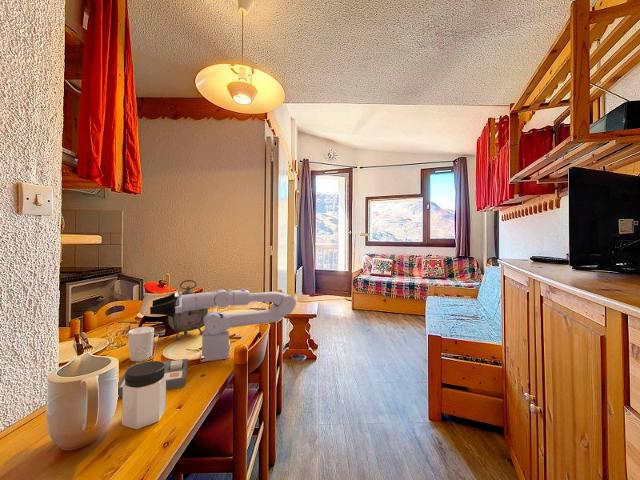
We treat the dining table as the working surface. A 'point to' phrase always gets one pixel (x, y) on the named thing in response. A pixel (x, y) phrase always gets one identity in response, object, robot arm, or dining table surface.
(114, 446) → the dining table surface
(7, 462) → the dining table surface
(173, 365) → the button
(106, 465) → the dining table surface
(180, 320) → the tabletop clock
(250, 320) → the robot arm
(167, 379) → the button board
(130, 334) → the white cup
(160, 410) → the jar
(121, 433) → the dining table surface
